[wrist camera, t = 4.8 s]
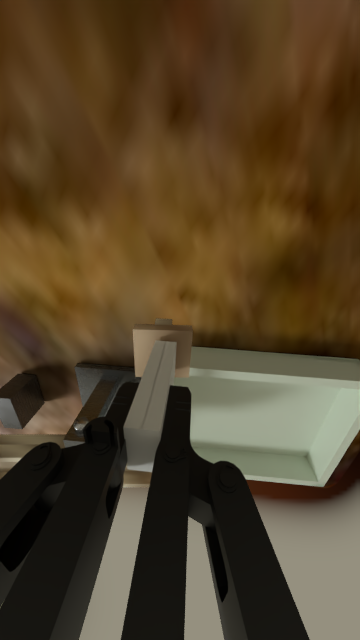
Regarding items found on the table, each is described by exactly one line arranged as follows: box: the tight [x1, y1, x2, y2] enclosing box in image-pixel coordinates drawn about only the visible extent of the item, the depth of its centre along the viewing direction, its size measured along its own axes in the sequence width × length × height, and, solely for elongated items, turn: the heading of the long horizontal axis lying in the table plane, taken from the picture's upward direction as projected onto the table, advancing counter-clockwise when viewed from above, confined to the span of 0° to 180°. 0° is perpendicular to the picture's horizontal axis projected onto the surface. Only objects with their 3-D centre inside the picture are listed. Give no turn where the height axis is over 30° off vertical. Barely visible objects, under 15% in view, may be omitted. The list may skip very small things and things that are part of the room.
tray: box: [173, 347, 360, 487], centre depth 26 cm, size 24×18×4 cm
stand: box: [0, 363, 142, 448], centre depth 24 cm, size 18×10×9 cm, turn 87°
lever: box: [0, 319, 193, 488], centre depth 17 cm, size 22×18×3 cm
